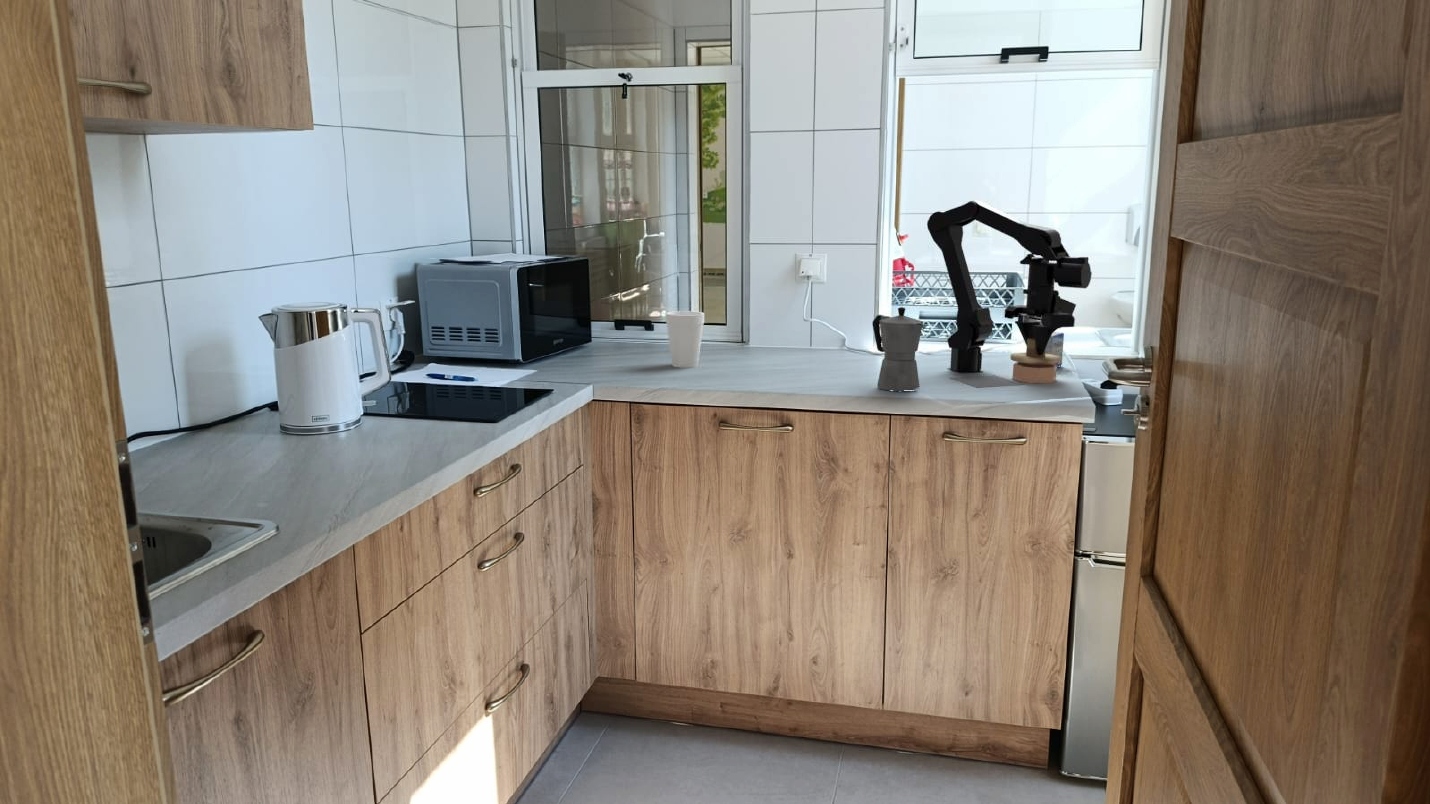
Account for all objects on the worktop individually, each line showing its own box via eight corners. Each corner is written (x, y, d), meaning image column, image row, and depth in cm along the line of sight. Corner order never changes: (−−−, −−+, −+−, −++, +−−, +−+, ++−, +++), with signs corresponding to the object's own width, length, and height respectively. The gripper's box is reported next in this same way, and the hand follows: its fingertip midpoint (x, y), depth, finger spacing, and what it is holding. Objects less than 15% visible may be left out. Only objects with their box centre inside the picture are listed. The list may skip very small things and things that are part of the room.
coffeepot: (935, 391, 222) (939, 309, 219) (903, 395, 217) (907, 311, 214) (886, 379, 235) (889, 302, 231) (855, 384, 230) (858, 304, 226)
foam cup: (706, 362, 256) (706, 311, 254) (702, 369, 247) (702, 315, 245) (668, 361, 257) (668, 310, 255) (663, 368, 248) (663, 315, 246)
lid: (1028, 365, 226) (1030, 343, 225) (1000, 357, 236) (1002, 336, 235) (1070, 362, 229) (1072, 341, 228) (1041, 355, 239) (1042, 334, 238)
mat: (977, 390, 223) (977, 387, 223) (949, 380, 235) (949, 377, 235) (1024, 387, 227) (1024, 384, 227) (994, 377, 238) (994, 375, 238)
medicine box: (1051, 371, 247) (1053, 336, 246) (1033, 369, 250) (1035, 334, 248) (1062, 367, 254) (1064, 332, 252) (1044, 365, 256) (1046, 330, 254)
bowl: (1028, 386, 228) (1030, 369, 227) (1005, 379, 236) (1006, 362, 236) (1063, 384, 231) (1064, 367, 230) (1039, 377, 239) (1040, 360, 238)
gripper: (1098, 288, 223) (1092, 358, 226) (1046, 280, 240) (1041, 346, 243) (1054, 289, 219) (1049, 361, 223) (1005, 281, 237) (1000, 348, 240)
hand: (1035, 353), depth 232 cm, fingers closed on lid, 3 cm apart
